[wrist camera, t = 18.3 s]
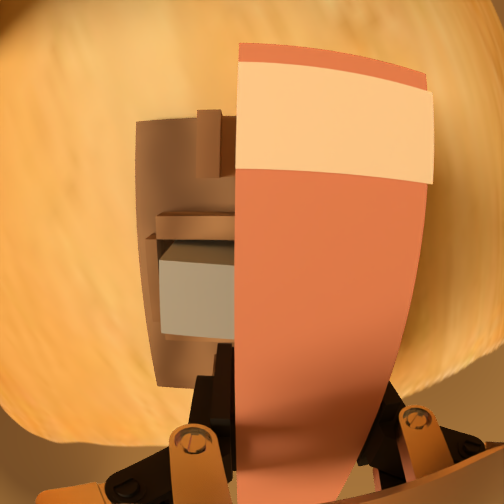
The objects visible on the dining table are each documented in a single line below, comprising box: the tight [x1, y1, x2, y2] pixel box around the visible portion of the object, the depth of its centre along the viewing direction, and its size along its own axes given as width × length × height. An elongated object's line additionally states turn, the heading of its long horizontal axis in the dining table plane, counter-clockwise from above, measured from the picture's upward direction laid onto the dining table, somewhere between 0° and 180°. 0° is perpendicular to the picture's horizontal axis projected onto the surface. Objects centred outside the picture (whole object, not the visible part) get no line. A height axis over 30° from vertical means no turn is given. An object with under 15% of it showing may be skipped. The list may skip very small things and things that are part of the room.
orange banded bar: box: [234, 43, 434, 504], centre depth 9 cm, size 4×20×5 cm, turn 179°
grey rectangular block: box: [159, 240, 235, 339], centre depth 19 cm, size 12×4×6 cm, turn 85°
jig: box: [135, 110, 237, 389], centre depth 19 cm, size 18×22×9 cm
